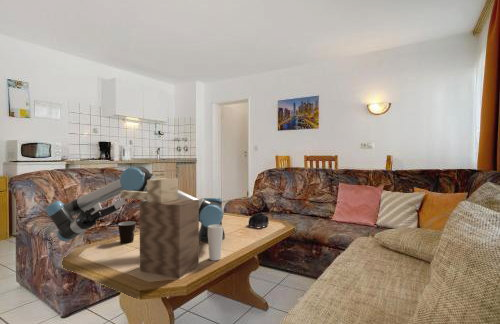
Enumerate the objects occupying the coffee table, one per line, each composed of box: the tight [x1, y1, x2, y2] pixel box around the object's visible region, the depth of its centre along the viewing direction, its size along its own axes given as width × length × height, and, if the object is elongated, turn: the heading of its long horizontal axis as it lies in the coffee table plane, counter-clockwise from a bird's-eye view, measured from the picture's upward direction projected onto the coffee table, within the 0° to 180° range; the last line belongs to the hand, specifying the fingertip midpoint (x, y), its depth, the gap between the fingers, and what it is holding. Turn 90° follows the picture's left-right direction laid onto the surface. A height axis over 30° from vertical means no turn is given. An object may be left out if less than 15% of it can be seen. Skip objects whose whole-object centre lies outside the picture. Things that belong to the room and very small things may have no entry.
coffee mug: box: [117, 221, 136, 245], centre depth 151 cm, size 12×9×10 cm
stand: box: [139, 199, 200, 279], centre depth 115 cm, size 19×14×28 cm
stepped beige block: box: [119, 177, 179, 203], centre depth 119 cm, size 25×11×9 cm, turn 70°
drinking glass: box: [207, 224, 224, 262], centre depth 126 cm, size 7×7×15 cm
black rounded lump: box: [248, 212, 270, 228], centre depth 186 cm, size 13×14×10 cm
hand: (113, 202), depth 126 cm, fingers open, 13 cm apart
